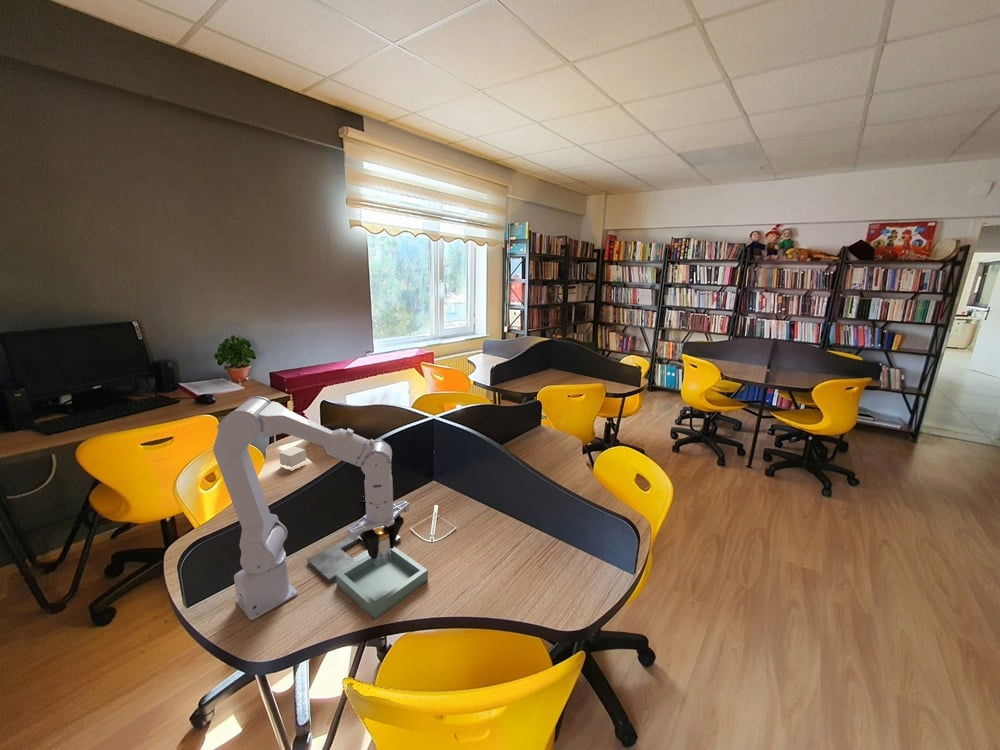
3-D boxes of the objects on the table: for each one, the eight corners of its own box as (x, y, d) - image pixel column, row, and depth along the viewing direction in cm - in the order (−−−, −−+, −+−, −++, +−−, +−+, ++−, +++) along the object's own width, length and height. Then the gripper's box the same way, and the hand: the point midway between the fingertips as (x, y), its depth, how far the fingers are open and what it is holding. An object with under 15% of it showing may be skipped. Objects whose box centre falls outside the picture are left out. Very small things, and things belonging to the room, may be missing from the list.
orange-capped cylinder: (379, 568, 88) (377, 540, 87) (368, 560, 91) (367, 533, 89) (394, 559, 91) (393, 532, 90) (384, 551, 94) (382, 525, 92)
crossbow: (455, 546, 108) (455, 539, 108) (407, 546, 107) (407, 540, 107) (457, 508, 123) (457, 503, 123) (415, 509, 122) (415, 503, 122)
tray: (374, 620, 83) (373, 608, 82) (336, 585, 91) (335, 574, 91) (427, 580, 94) (427, 569, 93) (389, 553, 102) (389, 543, 102)
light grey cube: (292, 471, 141) (290, 456, 140) (280, 467, 144) (278, 452, 142) (306, 464, 147) (305, 449, 145) (295, 461, 149) (294, 446, 148)
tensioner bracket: (329, 583, 92) (328, 579, 92) (307, 563, 98) (307, 559, 98) (400, 541, 107) (400, 537, 107) (378, 525, 113) (377, 522, 113)
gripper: (359, 519, 79) (363, 577, 83) (417, 490, 90) (418, 543, 94) (340, 506, 84) (344, 562, 87) (397, 480, 95) (399, 530, 98)
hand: (381, 551), depth 91 cm, fingers closed on orange-capped cylinder, 4 cm apart
